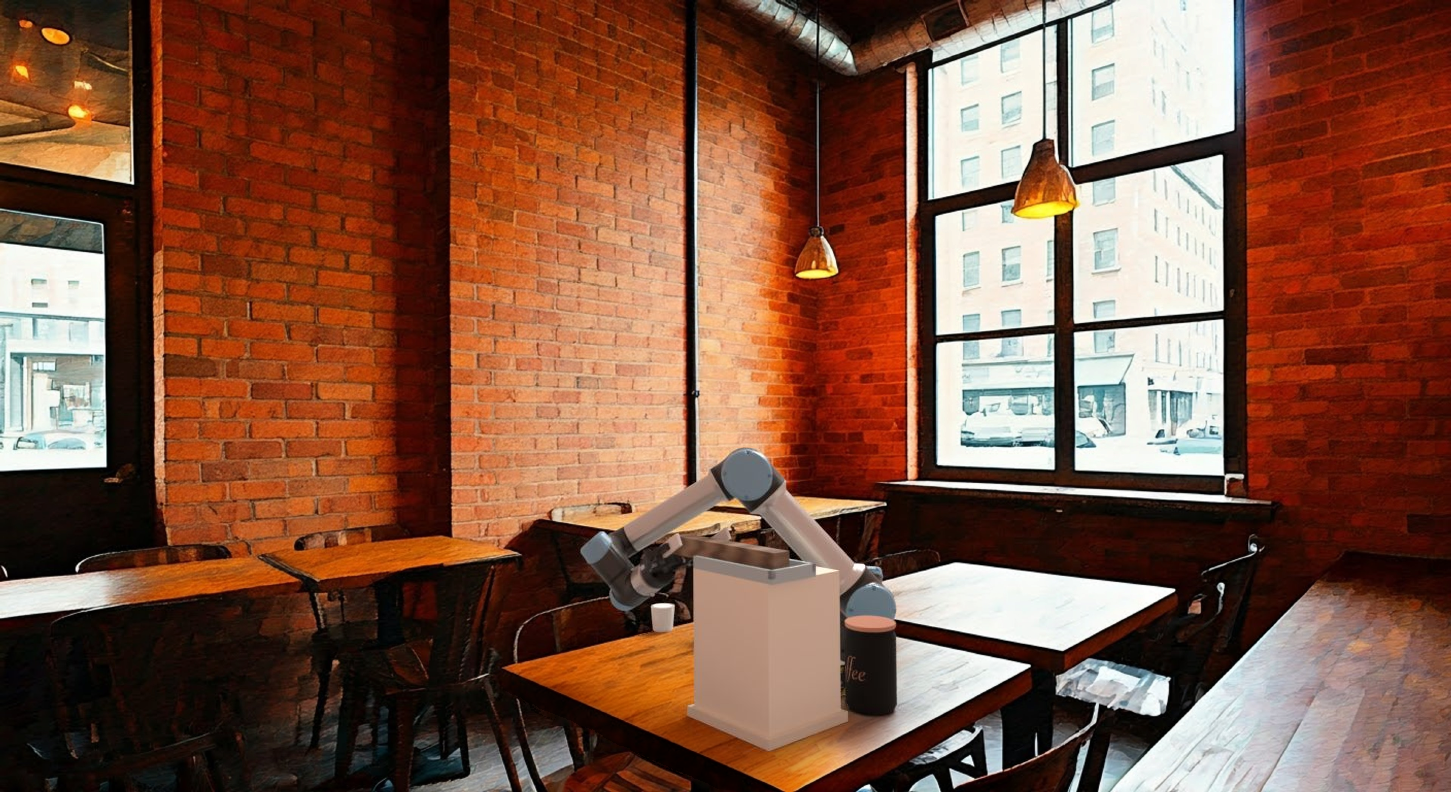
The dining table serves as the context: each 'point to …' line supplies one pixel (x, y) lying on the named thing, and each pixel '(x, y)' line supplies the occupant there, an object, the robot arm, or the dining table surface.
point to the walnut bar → (733, 552)
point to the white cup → (662, 617)
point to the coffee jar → (870, 665)
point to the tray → (757, 570)
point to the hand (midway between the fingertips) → (704, 535)
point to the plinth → (767, 657)
